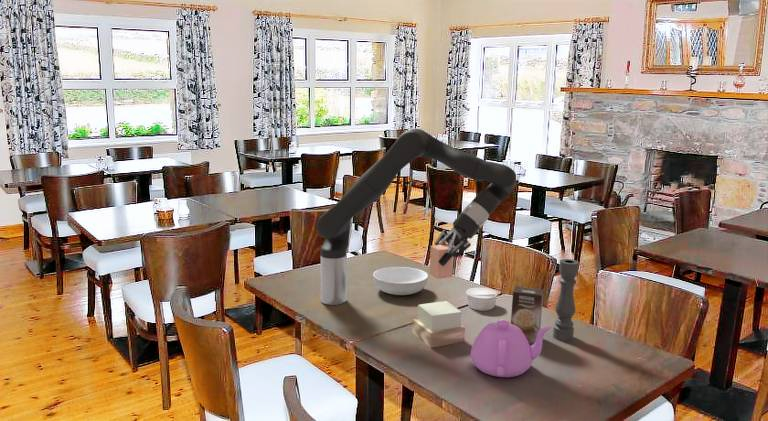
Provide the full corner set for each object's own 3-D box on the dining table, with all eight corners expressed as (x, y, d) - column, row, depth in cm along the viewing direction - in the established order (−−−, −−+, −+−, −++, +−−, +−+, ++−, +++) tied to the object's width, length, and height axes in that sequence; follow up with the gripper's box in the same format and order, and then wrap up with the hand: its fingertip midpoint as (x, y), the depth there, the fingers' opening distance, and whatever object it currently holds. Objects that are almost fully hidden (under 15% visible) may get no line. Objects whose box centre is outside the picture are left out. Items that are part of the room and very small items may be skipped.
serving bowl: (437, 289, 241) (437, 272, 239) (409, 305, 224) (410, 287, 222) (391, 279, 252) (391, 262, 250) (361, 293, 234) (362, 276, 233)
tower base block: (412, 334, 200) (412, 319, 199) (444, 328, 205) (445, 314, 204) (430, 348, 189) (430, 333, 188) (464, 342, 194) (464, 327, 193)
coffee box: (508, 340, 195) (511, 291, 192) (511, 332, 201) (514, 285, 198) (538, 344, 193) (542, 295, 189) (540, 336, 198) (544, 288, 195)
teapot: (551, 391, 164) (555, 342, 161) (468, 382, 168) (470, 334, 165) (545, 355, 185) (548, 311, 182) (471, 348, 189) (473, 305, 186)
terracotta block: (429, 274, 193) (430, 245, 191) (443, 272, 195) (444, 244, 193) (437, 278, 189) (438, 250, 187) (452, 276, 191) (453, 248, 189)
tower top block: (417, 319, 199) (418, 304, 198) (445, 315, 202) (446, 301, 201) (431, 331, 190) (432, 315, 188) (460, 327, 193) (461, 311, 192)
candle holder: (562, 342, 194) (569, 265, 189) (548, 335, 200) (554, 260, 194) (577, 339, 197) (584, 263, 192) (563, 331, 203) (569, 257, 197)
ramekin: (483, 314, 216) (483, 300, 215) (458, 305, 224) (459, 291, 223) (503, 307, 223) (504, 293, 222) (479, 298, 232) (479, 285, 230)
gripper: (451, 207, 197) (417, 248, 195) (477, 217, 185) (440, 260, 182) (465, 222, 201) (431, 262, 198) (491, 232, 188) (455, 275, 185)
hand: (436, 261), depth 190 cm, fingers closed on terracotta block, 5 cm apart
